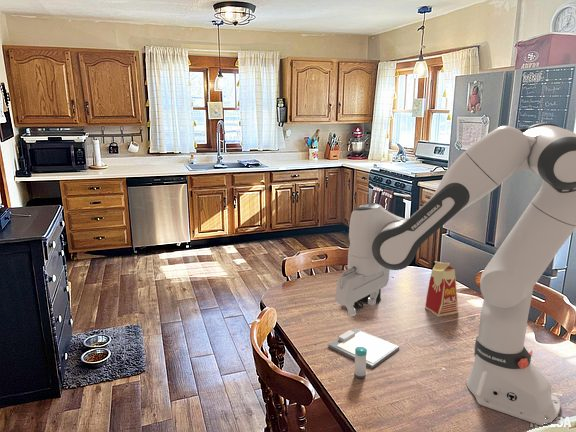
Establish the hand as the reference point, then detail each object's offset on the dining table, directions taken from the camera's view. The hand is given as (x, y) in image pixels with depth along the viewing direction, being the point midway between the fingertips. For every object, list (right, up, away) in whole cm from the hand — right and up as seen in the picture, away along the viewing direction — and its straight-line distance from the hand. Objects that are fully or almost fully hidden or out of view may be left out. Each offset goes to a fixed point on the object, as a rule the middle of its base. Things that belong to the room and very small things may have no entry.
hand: (362, 309), depth 120 cm
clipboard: (+4, -17, +19) cm, 26 cm away
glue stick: (0, -20, +5) cm, 21 cm away
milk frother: (+10, -9, +52) cm, 54 cm away
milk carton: (+38, -10, +45) cm, 60 cm away
